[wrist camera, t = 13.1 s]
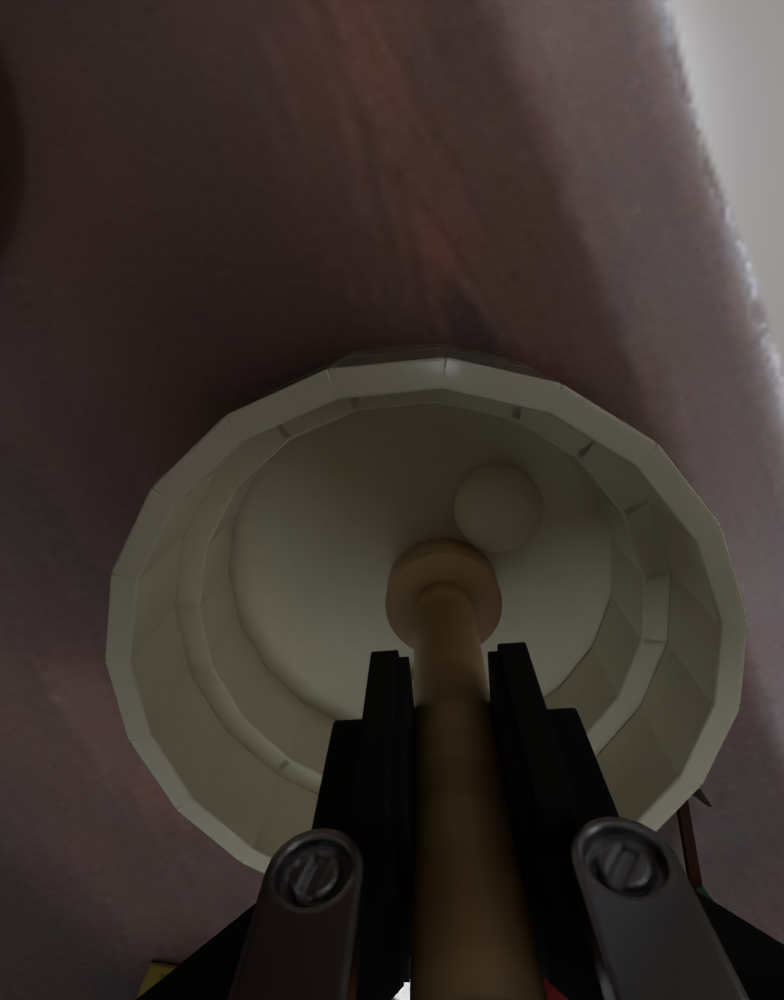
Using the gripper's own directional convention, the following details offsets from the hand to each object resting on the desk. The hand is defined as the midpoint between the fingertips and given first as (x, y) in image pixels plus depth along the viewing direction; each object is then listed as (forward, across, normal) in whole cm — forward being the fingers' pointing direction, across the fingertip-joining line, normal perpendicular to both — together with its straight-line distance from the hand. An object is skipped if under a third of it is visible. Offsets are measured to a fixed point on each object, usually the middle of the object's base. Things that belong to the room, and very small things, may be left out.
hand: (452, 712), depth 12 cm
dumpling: (+5, -2, -2) cm, 6 cm away
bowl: (+7, +1, 0) cm, 7 cm away
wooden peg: (+6, 0, 0) cm, 6 cm away
